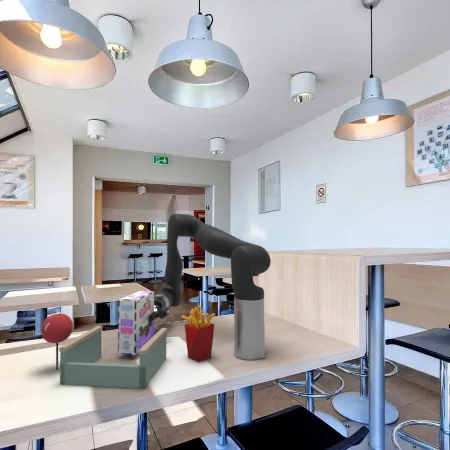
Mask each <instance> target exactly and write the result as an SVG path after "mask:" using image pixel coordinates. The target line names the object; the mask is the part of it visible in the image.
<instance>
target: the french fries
mask: <svg viewBox="0 0 450 450" xmlns="http://www.w3.org/2000/svg"><path fill="white" fill-rule="evenodd" d="M215 316H216V313H213V312H212V313H211V314H209V313H207V312H206V313H205V311H204V309H203V307H202V306H201V304H198V305H197V307H194V308H191V310H190V312H189V316H188V317H187V316H186V315H183V314H182V315H181V318H180V319H182V320H184V321H186V322H188V323H185V324H184V331H185V342H186V343H185V344H186V351H187V352H186V353H187V358H188V359H190V360H192V361H194V362H196V363H201V362H203V361H206V360H208V359H211V358H212V351H213V342H214V341H213V340H214V333H215V332H214V331H215V324H214V323H211V320H212V319H213V318H214V317H215ZM205 318H206V319H205Z"/></svg>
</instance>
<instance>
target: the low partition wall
mask: <svg viewBox="0 0 450 450" xmlns="http://www.w3.org/2000/svg"><path fill="white" fill-rule="evenodd" d="M102 331H103V325H96V326H95V327H93V328H92V329H89V330H87V331H86V332H84V333H83V334H81V335H79V336H77V337H75V338H74V339H71V340H70V341H68V342H66V343H64V344H63V345H61V346H58V353H59V352H60V354H59V357H60V360H59V368H60V369H59V385H66V386H84V387H87V386H88V387H104V388H105V387H106V388H122V389H142V390H143V389H146V387H147V386H148V384H149V383H150V382H151V380H152V379H153V377H154V376H155V375H156V374H157V373H158V371H159V369H160V368H161V367H162V366H163V364H164V363H165V362H166V360H167V333H168V328H167V327H161V328H160V329H159V330H158V331H157V332H156V333H154V336H153V337H152V338H151V339H150V340H149V341H148V342H147V343H146V344H145V345H144V346H143V347H142V348H141V349H139V350H138V354H137V355H138V356H139V358H138V359H139V360H138V361H139V363H138V364H127V363H126V364H125V363H124V364H121V363H103V362H102V363H101V362H97V363H96V361H97V360H99V359H100V358H101V357H102Z"/></svg>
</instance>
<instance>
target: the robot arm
mask: <svg viewBox="0 0 450 450" xmlns="http://www.w3.org/2000/svg"><path fill="white" fill-rule="evenodd" d="M179 237H184V238H185V237H188V238H194V239H196V241H197V244H198V246H199V247H200V248H201V249H203V250H204V251H206V252H207V253H208V254H211V255H213V256H215V257H216V256H217V257H220V258H226V259H230V273H231V274H230V275H231V276H230V277H231V288H232V291H233V296H234V297H233V298H234V299H233V306H234V308H233V311H234V312H233V313H234V314H233V315H234V316H233V318H234V319H233V323H234V324H233V330H234V332H233V335H234V337H233V339H234V344H233V346H234V347H233V349H234V356H235V357H237V358H238V359H241V360H246V361H247V360H249V361H251V360H252V361H253V360H258V359H259V360H260V359H265V357H266V355H265V354H266V349H265V348H266V346H265V345H266V343H265V342H266V341H265V340H266V338H265V337H266V336H265V334H266V332H265V331H266V330H265V329H266V328H265V327H266V326H265V290H264V288H263V287H261V286H259V285H256V284H255V282H254V276H256V275H261V274H263V273H266V272H267V271H268V270H269V268H270V267H271V257H270V254H269V251H268V250H267V249H266V248H264V247H263V246H261V245H259V244H255V243H251V242H248V241H245V240H243V239H241V238H240V239H239V238H238V237H236V236H234V235H232V234H230V233H228V232H226V231H224V230H223V229H220V228H217V227H215V226H214V225H211V224H209V223H208V224H207V223H205V222H203V221H201V220H200V219H198V218H197V217H196V216H194V215H192V214H186V213H172V214H171V215H170V216H169V219H168V223H167V235H166V238H167V241H166V242H167V243H166V265H165V272H164V277H163V281H164V283H165V284H167V285H168V286H170V287H171V288H170V287H167V286H162V287H160V288H159V289H158V291H157V293H156V295H155V294H154V312H152V313H151V314H150V315H149V322H152V321H153V320H154V321H155V320H158V319H161V320H162V319H165V318H166V317H168V316H169V315H170V308H171V307H178V306H179V305H180V304H181V303H182V301H183V295H182V294H183V292H182V283H181V282H182V274H183V268H184V267H183V266H184V265H183V264H184V263H183V259H182V256H181V254H180V251H179V248H178V238H179Z"/></svg>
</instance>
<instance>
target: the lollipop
mask: <svg viewBox="0 0 450 450" xmlns="http://www.w3.org/2000/svg"><path fill="white" fill-rule="evenodd" d="M73 325H74V324H73V320H72V318H71V317H70V315H68V314H65V313H54V314H51V315H49V316H47V317H46V318H45V319H44V320H43V322H42V324H41V328H40V333H41V337H42V338H43V340H44V341H46V342H47V343H50V344H55V345H56V346H55V370H59V344H60V343H62V342H64V341H66V340H68V339H69V338H70V336H71V335H72V333H73V330H74V329H73V328H74V326H73Z"/></svg>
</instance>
